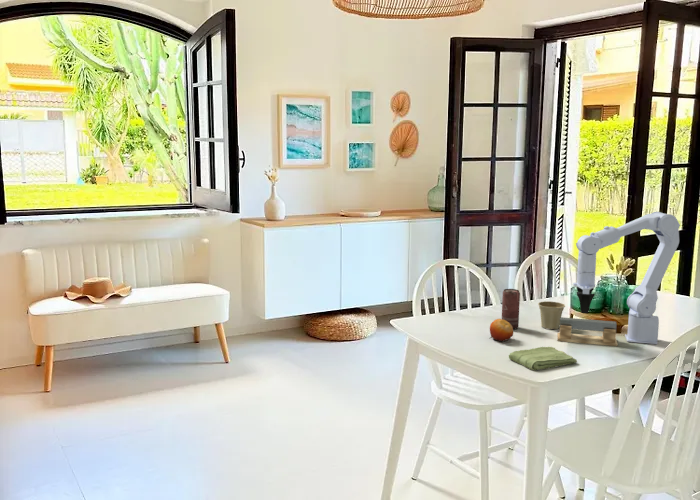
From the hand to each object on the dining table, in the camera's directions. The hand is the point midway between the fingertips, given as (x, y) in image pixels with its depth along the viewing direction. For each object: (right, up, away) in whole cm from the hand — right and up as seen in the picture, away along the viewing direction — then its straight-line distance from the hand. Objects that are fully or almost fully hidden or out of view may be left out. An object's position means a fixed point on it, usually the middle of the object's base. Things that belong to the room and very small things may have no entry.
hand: (584, 310), depth 222 cm
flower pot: (-7, -8, +16) cm, 19 cm away
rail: (+1, -6, 0) cm, 6 cm away
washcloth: (-21, -14, -21) cm, 33 cm away
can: (-21, -8, +16) cm, 28 cm away
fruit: (-28, -10, +1) cm, 30 cm away
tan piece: (+1, -10, 0) cm, 10 cm away
